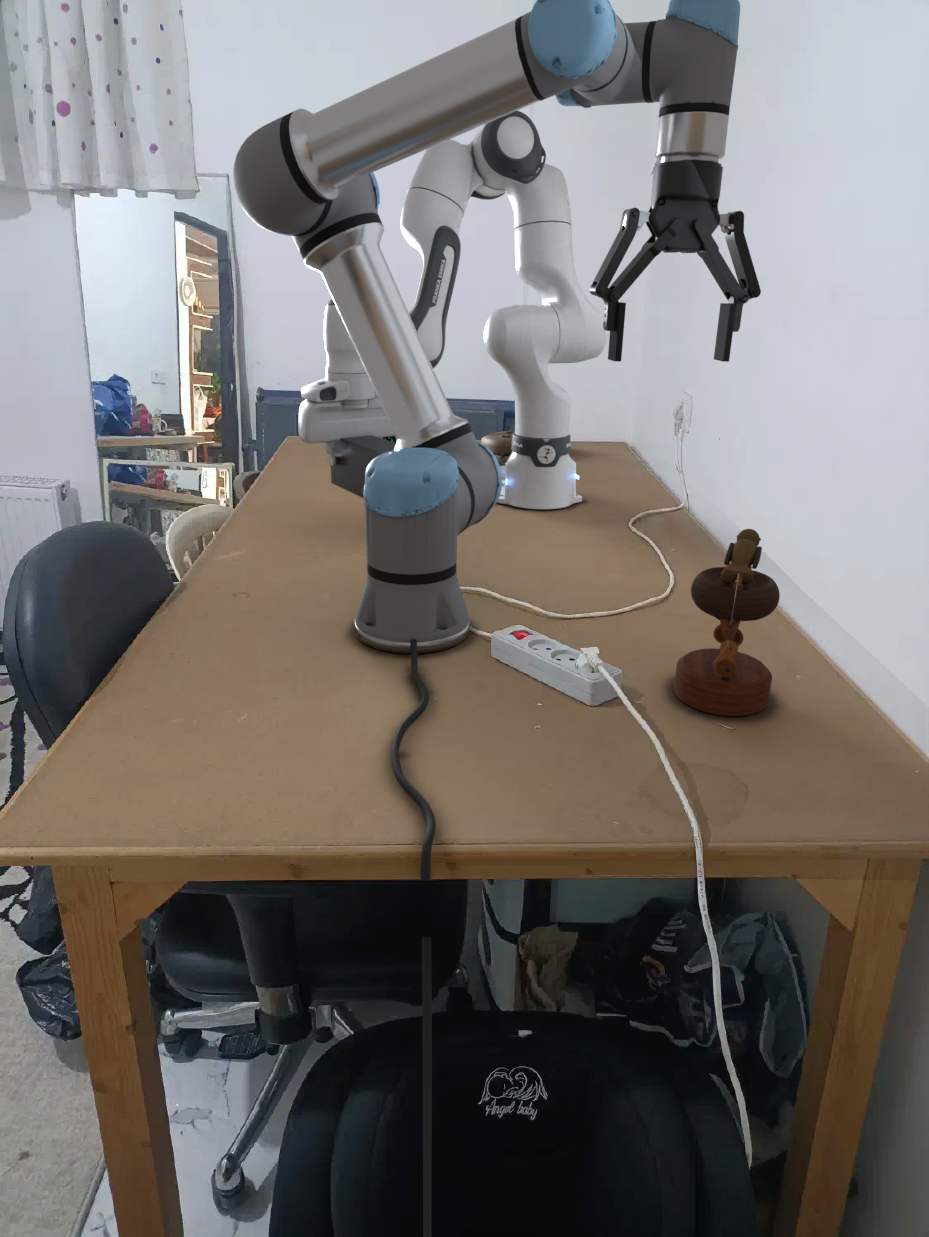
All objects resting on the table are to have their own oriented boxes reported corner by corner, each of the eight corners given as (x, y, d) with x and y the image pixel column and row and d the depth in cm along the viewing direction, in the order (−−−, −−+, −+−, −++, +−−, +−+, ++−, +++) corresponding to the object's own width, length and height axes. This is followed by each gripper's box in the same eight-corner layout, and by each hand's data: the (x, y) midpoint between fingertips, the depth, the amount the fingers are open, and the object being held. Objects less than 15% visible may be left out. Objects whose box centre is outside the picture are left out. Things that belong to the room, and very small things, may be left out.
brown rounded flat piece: (486, 464, 211) (486, 447, 210) (479, 443, 237) (479, 428, 235) (569, 465, 212) (571, 448, 211) (554, 443, 238) (554, 428, 236)
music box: (786, 726, 90) (801, 547, 83) (681, 727, 92) (686, 551, 84) (757, 665, 104) (767, 507, 97) (666, 666, 106) (669, 511, 98)
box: (421, 505, 147) (421, 451, 144) (388, 510, 144) (386, 454, 141) (361, 479, 167) (359, 431, 163) (331, 483, 164) (328, 434, 160)
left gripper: (776, 169, 99) (750, 357, 107) (571, 162, 96) (560, 357, 104) (810, 162, 93) (779, 363, 101) (590, 153, 89) (577, 363, 97)
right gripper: (393, 383, 163) (395, 455, 168) (292, 389, 153) (297, 465, 158) (408, 387, 158) (409, 460, 163) (305, 392, 148) (310, 471, 153)
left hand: (668, 360), depth 102 cm, fingers open, 13 cm apart
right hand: (353, 463), depth 161 cm, fingers closed on box, 6 cm apart
